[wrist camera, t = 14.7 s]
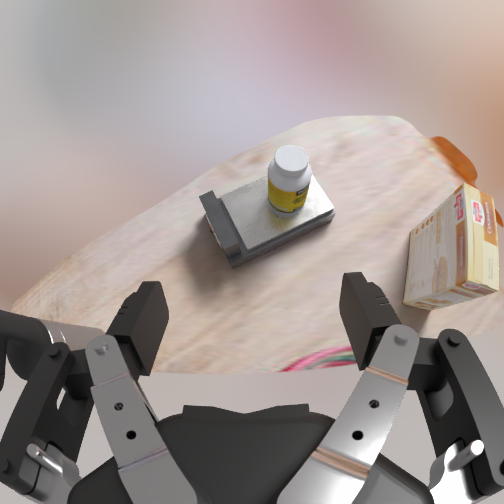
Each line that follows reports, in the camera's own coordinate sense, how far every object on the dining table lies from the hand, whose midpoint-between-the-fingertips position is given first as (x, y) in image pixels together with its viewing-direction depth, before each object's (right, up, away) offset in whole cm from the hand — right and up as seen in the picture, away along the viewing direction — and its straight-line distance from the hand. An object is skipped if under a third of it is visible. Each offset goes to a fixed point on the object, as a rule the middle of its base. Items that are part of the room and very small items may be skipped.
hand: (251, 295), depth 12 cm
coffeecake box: (+32, -2, +34) cm, 47 cm away
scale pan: (+4, +10, +36) cm, 38 cm away
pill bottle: (+6, +11, +35) cm, 37 cm away
